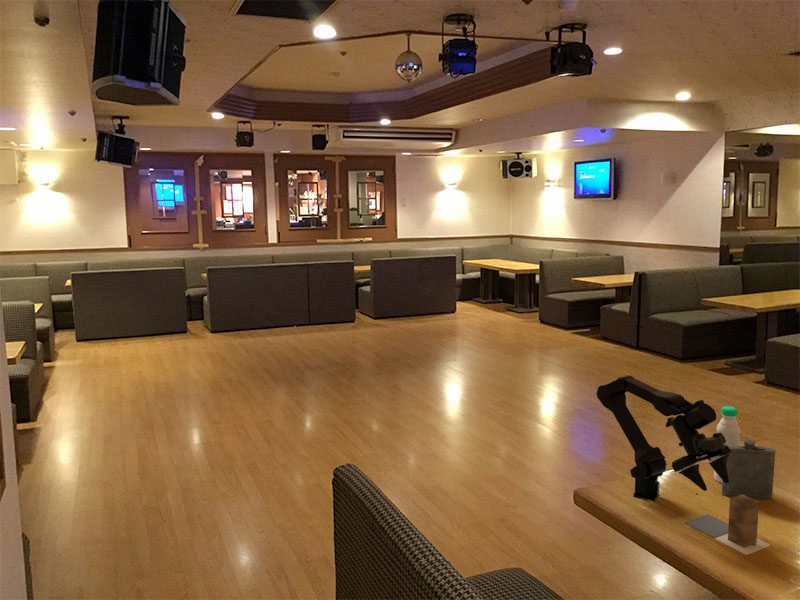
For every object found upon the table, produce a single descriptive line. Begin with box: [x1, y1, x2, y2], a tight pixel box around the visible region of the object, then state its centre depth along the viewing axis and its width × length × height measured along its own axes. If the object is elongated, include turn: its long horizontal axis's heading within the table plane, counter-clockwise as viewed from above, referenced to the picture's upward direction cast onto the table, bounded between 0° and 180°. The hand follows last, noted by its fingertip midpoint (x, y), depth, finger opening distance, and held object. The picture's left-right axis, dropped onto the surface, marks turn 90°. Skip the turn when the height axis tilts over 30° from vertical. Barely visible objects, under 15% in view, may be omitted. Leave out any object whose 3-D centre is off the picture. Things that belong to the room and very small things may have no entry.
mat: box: [683, 513, 729, 539], centre depth 190 cm, size 10×10×1 cm
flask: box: [721, 439, 776, 501], centre depth 207 cm, size 4×14×18 cm, turn 75°
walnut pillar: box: [728, 495, 760, 548], centre depth 180 cm, size 5×5×12 cm
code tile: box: [713, 533, 771, 556], centre depth 181 cm, size 10×10×1 cm
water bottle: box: [713, 405, 741, 484], centre depth 218 cm, size 7×7×25 cm
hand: (716, 486), depth 187 cm, fingers open, 9 cm apart
